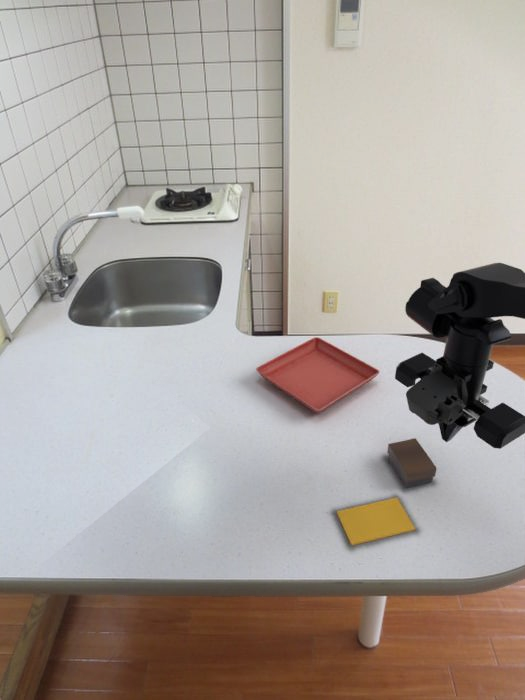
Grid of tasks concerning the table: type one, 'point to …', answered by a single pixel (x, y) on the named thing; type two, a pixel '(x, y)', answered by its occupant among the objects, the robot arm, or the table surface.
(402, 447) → the brown rectangular block
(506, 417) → the robot arm
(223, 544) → the table surface
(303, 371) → the plant saucer
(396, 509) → the cloth
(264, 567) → the table surface
